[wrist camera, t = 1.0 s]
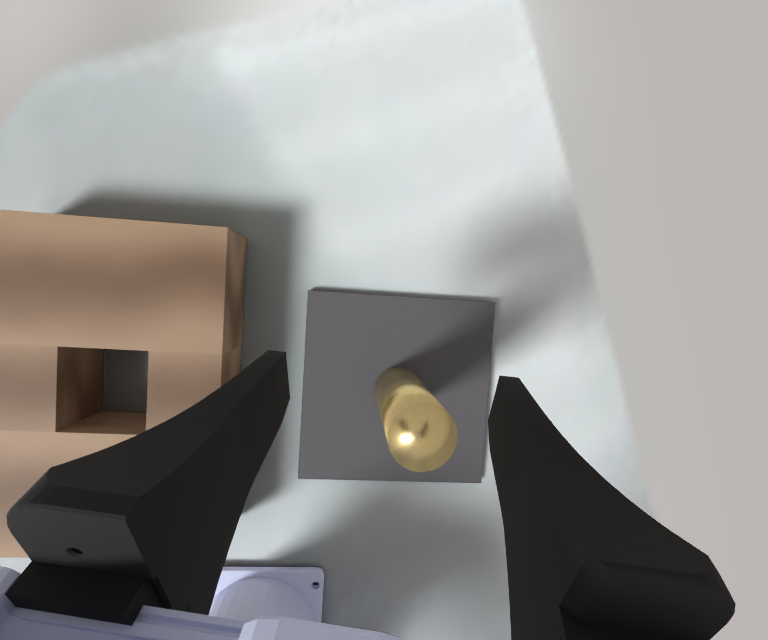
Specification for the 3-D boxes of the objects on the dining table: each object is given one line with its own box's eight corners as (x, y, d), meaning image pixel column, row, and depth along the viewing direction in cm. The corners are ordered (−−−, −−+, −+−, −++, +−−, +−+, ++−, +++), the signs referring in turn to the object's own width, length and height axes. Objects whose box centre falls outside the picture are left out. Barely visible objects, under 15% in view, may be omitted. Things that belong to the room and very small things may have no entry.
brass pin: (418, 413, 26) (454, 472, 17) (372, 411, 26) (385, 471, 17) (421, 367, 26) (459, 403, 17) (375, 365, 26) (389, 401, 17)
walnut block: (233, 519, 26) (213, 558, 22) (34, 516, 25) (-25, 557, 21) (246, 238, 25) (227, 227, 21) (40, 222, 24) (-20, 208, 20)
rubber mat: (478, 479, 28) (481, 482, 27) (298, 475, 26) (297, 478, 26) (492, 302, 27) (494, 302, 26) (308, 290, 26) (308, 290, 25)
